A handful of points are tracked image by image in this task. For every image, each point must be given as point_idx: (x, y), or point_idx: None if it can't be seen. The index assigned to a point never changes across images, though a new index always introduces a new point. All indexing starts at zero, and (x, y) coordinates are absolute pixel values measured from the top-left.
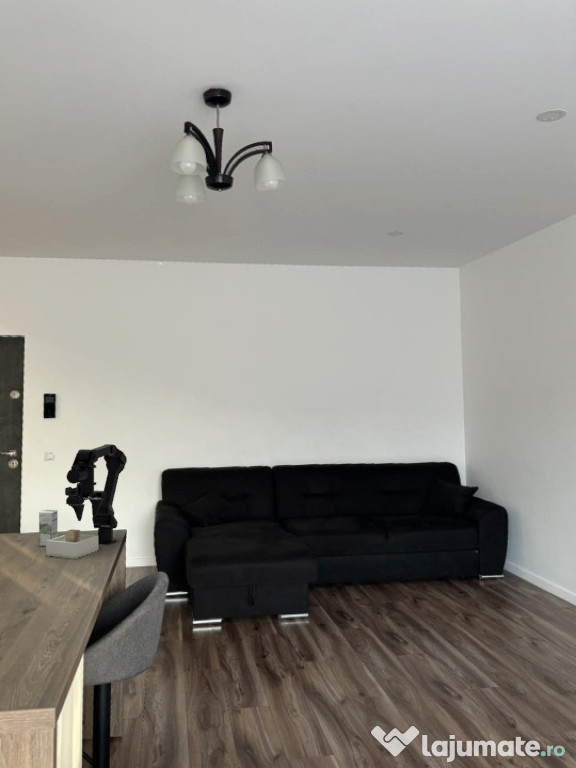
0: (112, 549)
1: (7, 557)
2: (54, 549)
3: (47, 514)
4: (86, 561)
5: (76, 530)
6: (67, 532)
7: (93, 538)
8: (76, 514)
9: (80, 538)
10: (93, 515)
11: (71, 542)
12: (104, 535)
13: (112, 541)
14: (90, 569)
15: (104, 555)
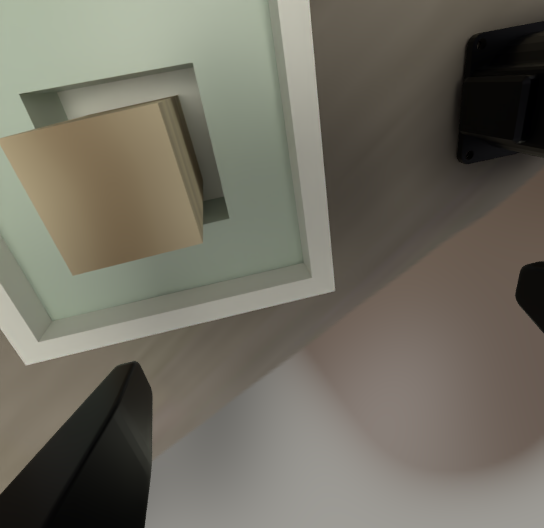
0: (359, 285)
1: None
2: None
3: None
4: (92, 372)
5: (152, 230)
6: (25, 176)
7: (269, 301)
8: (16, 507)
9: (282, 107)
10: (537, 287)
11: (16, 312)
12: (510, 143)
13: (515, 152)
14: None
15: (237, 348)
